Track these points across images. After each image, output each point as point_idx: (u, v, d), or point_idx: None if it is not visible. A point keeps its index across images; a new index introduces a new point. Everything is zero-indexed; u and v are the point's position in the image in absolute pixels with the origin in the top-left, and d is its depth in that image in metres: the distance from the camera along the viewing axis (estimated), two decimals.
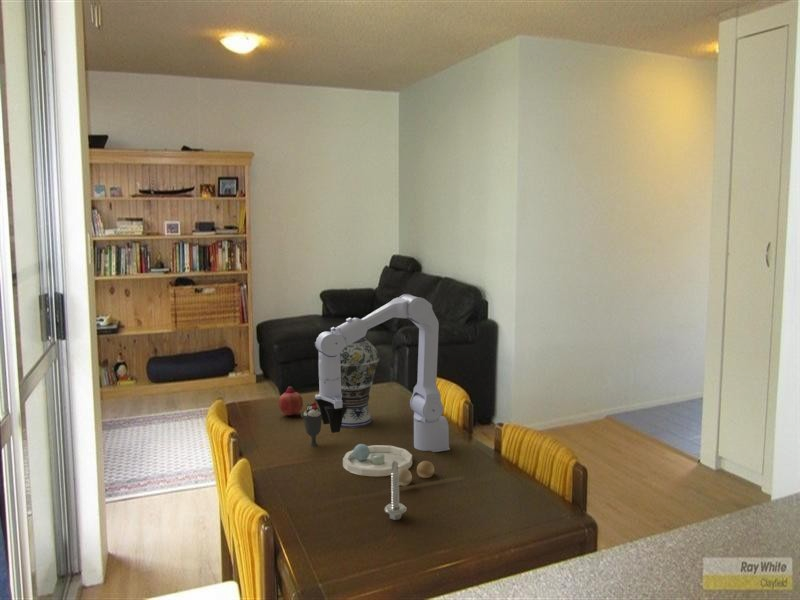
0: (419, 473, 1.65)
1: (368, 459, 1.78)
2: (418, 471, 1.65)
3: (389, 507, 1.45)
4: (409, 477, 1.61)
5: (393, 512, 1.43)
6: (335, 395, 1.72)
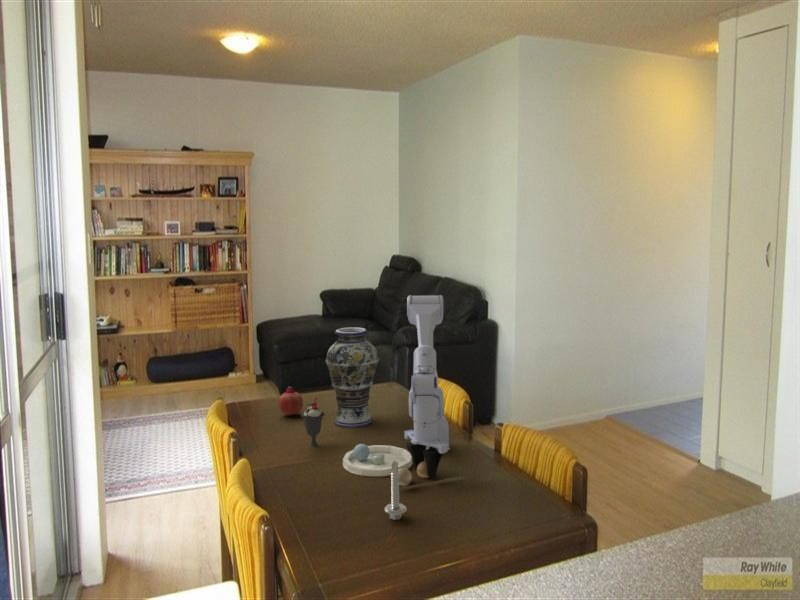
0: (419, 473, 1.65)
1: (368, 459, 1.78)
2: (418, 471, 1.65)
3: (389, 507, 1.45)
4: (409, 477, 1.61)
5: (393, 512, 1.43)
6: (434, 439, 1.64)
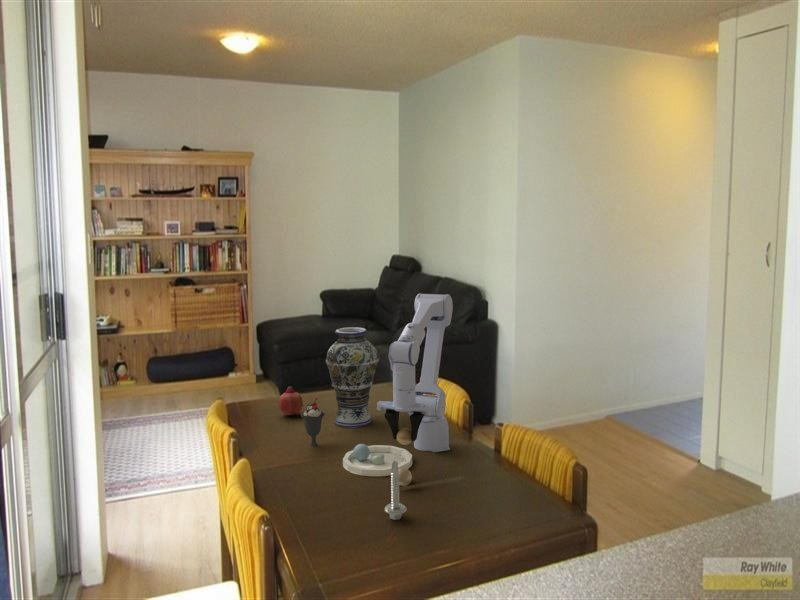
0: (403, 440, 1.69)
1: (368, 459, 1.78)
2: (401, 438, 1.69)
3: (389, 507, 1.45)
4: (409, 477, 1.61)
5: (393, 512, 1.43)
6: (415, 403, 1.70)
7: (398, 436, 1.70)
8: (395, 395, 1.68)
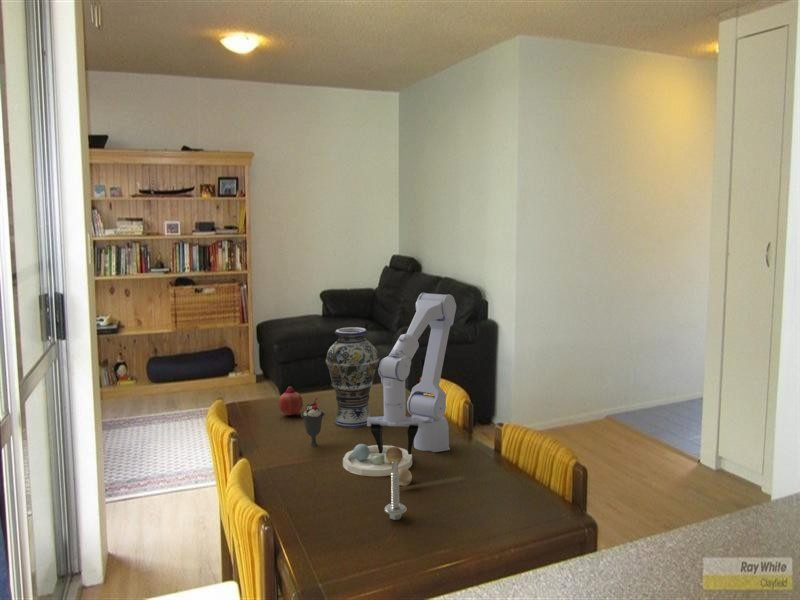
0: (394, 459, 1.73)
1: (368, 459, 1.78)
2: (392, 458, 1.73)
3: (389, 507, 1.45)
4: (409, 477, 1.61)
5: (393, 512, 1.43)
6: (405, 417, 1.74)
7: (388, 456, 1.73)
8: (387, 410, 1.71)
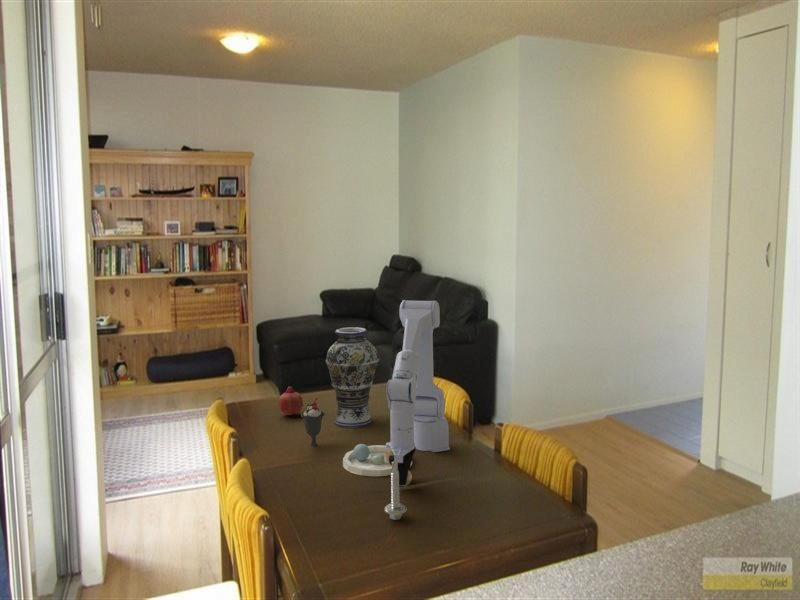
0: None
1: (368, 459, 1.78)
2: None
3: (389, 507, 1.45)
4: (409, 477, 1.61)
5: (393, 512, 1.43)
6: (403, 447, 1.58)
7: (388, 457, 1.73)
8: None
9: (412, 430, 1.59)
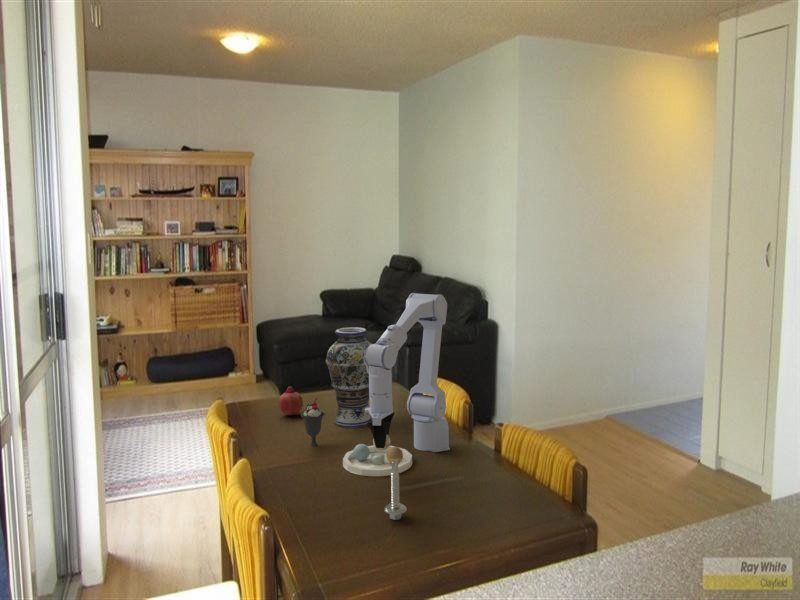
0: (394, 459, 1.73)
1: (368, 459, 1.78)
2: (392, 458, 1.73)
3: (389, 507, 1.45)
4: (387, 441, 1.66)
5: (393, 512, 1.43)
6: (381, 411, 1.64)
7: (389, 456, 1.73)
8: None
9: (390, 395, 1.65)
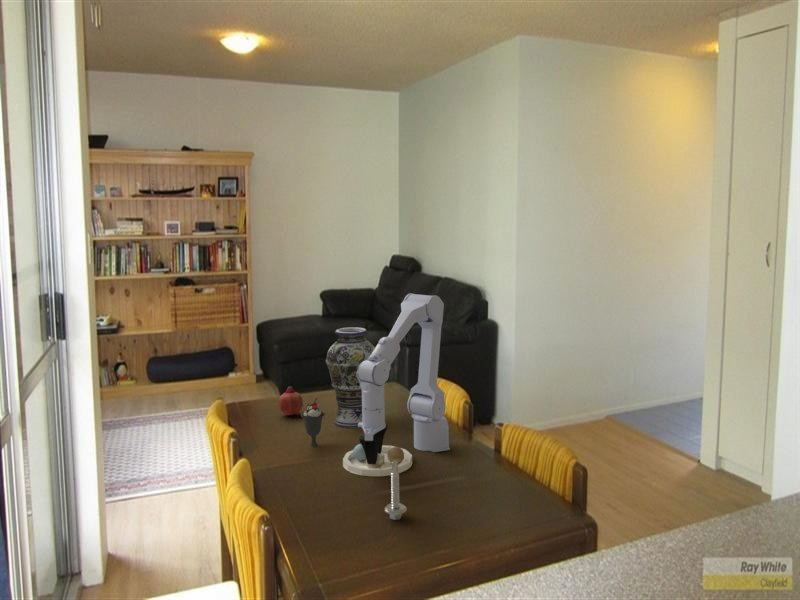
0: (395, 459, 1.73)
1: None
2: (394, 458, 1.73)
3: (389, 507, 1.45)
4: (380, 461, 1.69)
5: (393, 512, 1.43)
6: (373, 426, 1.67)
7: (390, 456, 1.73)
8: None
9: (382, 410, 1.68)
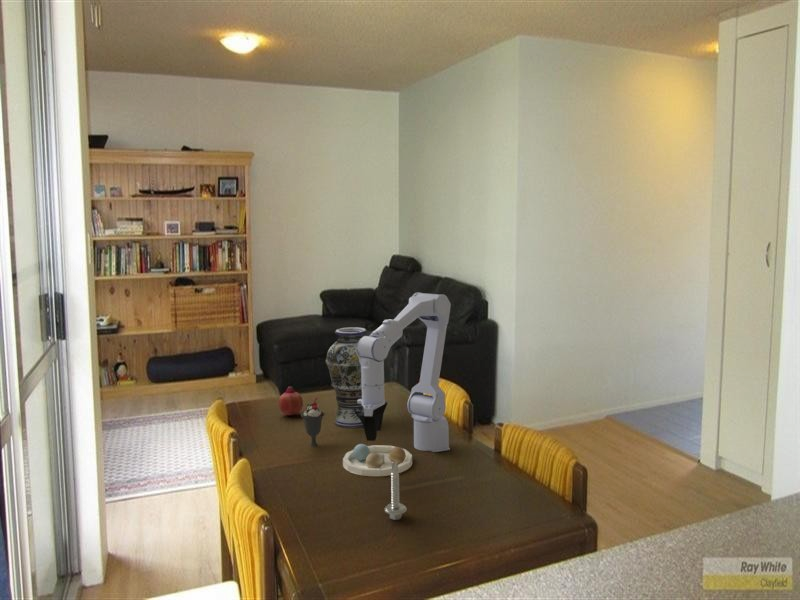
0: (396, 459, 1.73)
1: None
2: (395, 458, 1.72)
3: (389, 507, 1.45)
4: (380, 461, 1.69)
5: (393, 512, 1.43)
6: (373, 402, 1.66)
7: (392, 455, 1.73)
8: None
9: (382, 386, 1.67)
